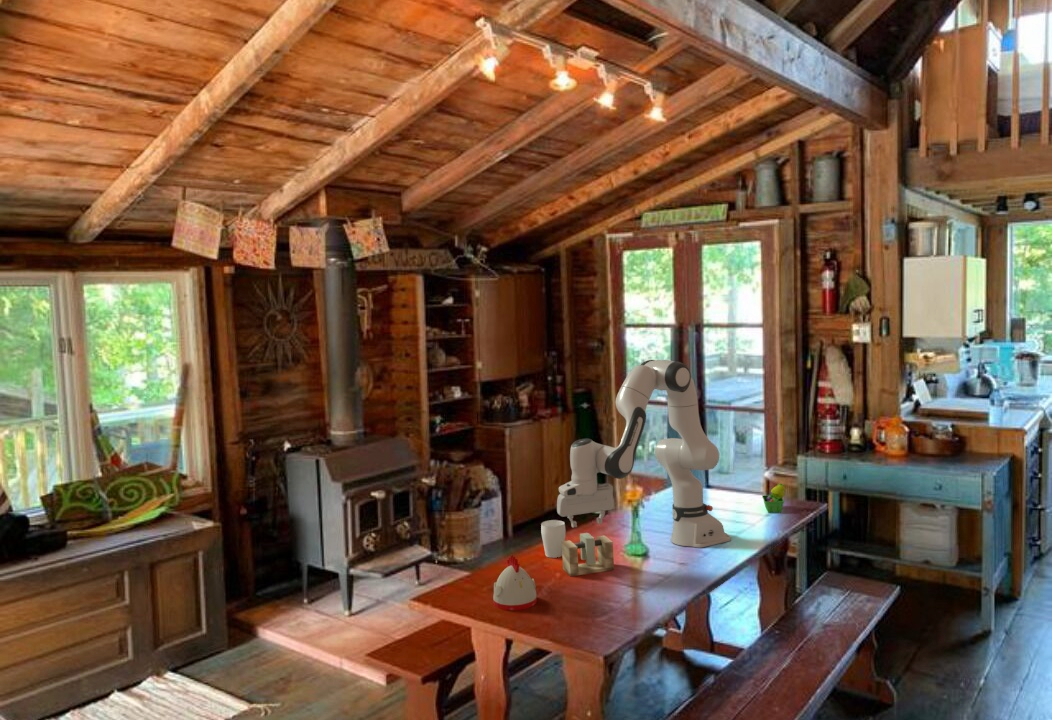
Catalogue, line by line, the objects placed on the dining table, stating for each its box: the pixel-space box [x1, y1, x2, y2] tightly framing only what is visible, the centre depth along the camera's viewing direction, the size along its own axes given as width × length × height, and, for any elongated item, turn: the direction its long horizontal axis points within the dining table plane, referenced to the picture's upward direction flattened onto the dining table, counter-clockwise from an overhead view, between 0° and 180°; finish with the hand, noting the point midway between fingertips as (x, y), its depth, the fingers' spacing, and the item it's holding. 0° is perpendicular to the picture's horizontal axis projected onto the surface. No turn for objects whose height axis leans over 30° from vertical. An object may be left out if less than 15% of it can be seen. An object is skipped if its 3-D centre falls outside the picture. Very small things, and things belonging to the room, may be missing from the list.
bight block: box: [579, 532, 597, 565], centre depth 298 cm, size 3×7×9 cm, turn 15°
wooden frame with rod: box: [561, 535, 615, 577], centre depth 298 cm, size 16×8×10 cm, turn 106°
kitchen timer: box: [492, 554, 538, 611], centre depth 271 cm, size 14×14×15 cm
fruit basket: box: [762, 483, 786, 514], centre depth 360 cm, size 11×9×11 cm
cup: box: [540, 519, 566, 559], centre depth 316 cm, size 9×9×12 cm
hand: (587, 525), depth 297 cm, fingers open, 8 cm apart
